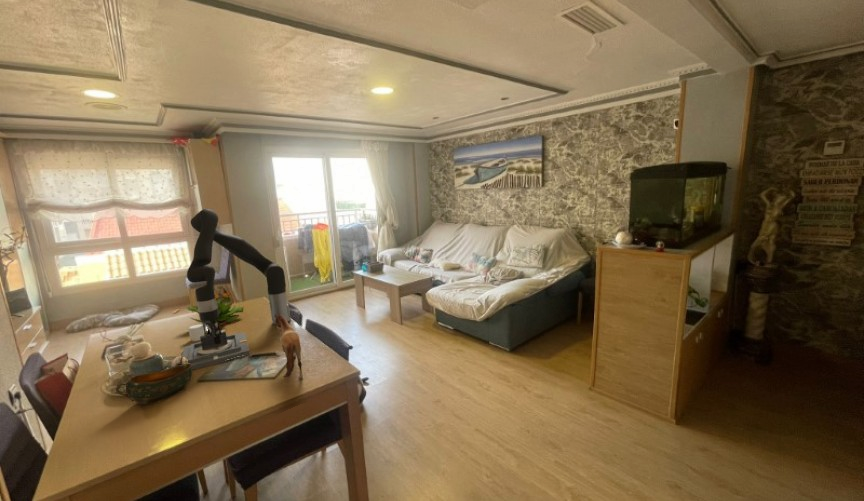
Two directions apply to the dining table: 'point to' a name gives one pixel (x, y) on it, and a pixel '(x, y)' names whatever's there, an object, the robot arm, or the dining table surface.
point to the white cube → (196, 332)
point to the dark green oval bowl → (157, 385)
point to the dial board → (200, 361)
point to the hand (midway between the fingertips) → (214, 341)
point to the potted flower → (222, 310)
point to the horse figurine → (289, 344)
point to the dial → (213, 344)
